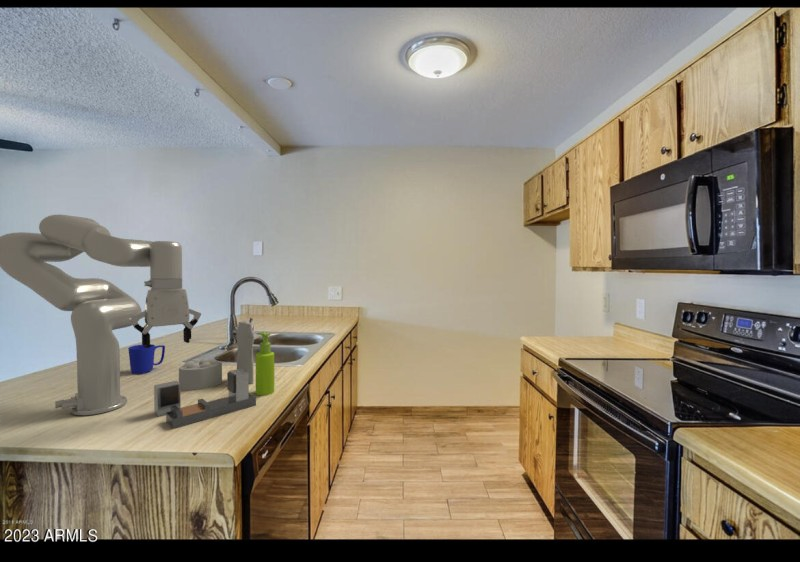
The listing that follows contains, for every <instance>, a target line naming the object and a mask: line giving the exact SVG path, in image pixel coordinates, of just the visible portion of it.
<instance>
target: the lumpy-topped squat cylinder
mask: <svg viewBox="0 0 800 562" xmlns="http://www.w3.org/2000/svg"><path fill="white" fill-rule="evenodd" d="M178 382H179V383H180V391H182V392H183V391H184V392H185V391H190V392H191V391H198V390H204V389H208V388H211V387H216V386H218V385H220V384H222V383H223V363H222V362H221V361H218V360H217V359H214V358H211V357H204V358H202V359H199V358H198V357H197V358H192V359H191V360H189V361H187V362H185V363H184V364H183V365H181V366H179V368H178Z"/></svg>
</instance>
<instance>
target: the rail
mask: <svg viewBox="0 0 800 562" xmlns="http://www.w3.org/2000/svg"><path fill="white" fill-rule="evenodd" d="M226 374H227V378H226V379H227V380H226V383H227V385H226V390H227V391H228V396H226V397H221V398H218V399H214V400H209V401H206V400H205V399H203V398H198V399H197V403H195V404H190V405H187V406H186V405H185V406H183V407H182V406H181V408H178V407H177V406H176V405H174V406H171V411H170V412H166V415H165V416H166V417H165V419H166V420H165V421H166V423H167V424H168V425H169V427H170V428H172V430H174V429H177V428H180V427H184V426H188V425H192V424H195V423H198V422H202V421H206V420H209V419H213V418H216V417H219V416H220V417H221V416H223V415H226V414H230V413H233V412H237V411H240V410H243V409H247V408H250V407H255V406H257V397H256V396H255V395H253V394H251V393H249V385H250V384H249V373H248V372H246V371H244V370H242V369H237V368H236V369H231V370H229V371H228V372H227V373H226Z"/></svg>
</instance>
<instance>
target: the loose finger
mask: <svg viewBox="0 0 800 562" xmlns="http://www.w3.org/2000/svg"><path fill="white" fill-rule="evenodd" d="M153 391H154V392H153V395H154V396H153V397H154V399H153V402H154V403H153V405H154V409H153V411H154V414H155V416H157V417H162V416H166V412H170V411H171V406H174V405H176V406H177V407H178V408H182V406H181V390H180V383H179V380H173V381H168V382H164V383H158V384H154V385H153Z"/></svg>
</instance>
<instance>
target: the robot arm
mask: <svg viewBox="0 0 800 562" xmlns="http://www.w3.org/2000/svg"><path fill="white" fill-rule="evenodd" d="M38 230H39V232H40V233H37V232H22V231H21V232H12V233H6V234H2V235H0V268H1V270H2V271H4V272H5V273H6V274H7V275H8V276H9V277H10V278H12V279H14V280H16V281H17V282H18V283H20V284H22V285H24V286H26V287H27V288H29V289H30V290H32V291H33V292H34V293H36V295H38V296H39V297H41V298H43V299H44V300H45V301H46V302H48V303H50V304H51V305H52V306H54V308H57V309H58V310H60V311H63V312H71V314H70V322H71V323H70V324H71V327H72V330H73V332H74V338H75V349H76V380H77V381H76V382H77V388H76V389H77V392H76V393H74V396H71V397H70V398H67V399H60V400H55V402H54V407H55V408H54V409H58V408H59V409H60V408H61V409H67V408H70V411H69V412H70V413H71V414H72V415H75V416H92V415H98V414H103V413H107V412H108V413H109V412H111V411H115V410H116V409H119V408H122V407H123V406H125V405H126V404H127V401H128V398H127V397H126V395H125V396H124V395H121V361H120V359H121V356H120V344H119V340H118V338H117V337H116V336H115V333H114V332H113V331H114V330H115V331H116V330H120V329H124V328H128V327H129V328H130V327H131V326H132V327H133V328H134V329H135V330H137V331H138V332H139V333H141V345H144V346H145V347H146V348H150V344H151V334H150V333H149V332H150V331H151V329H153V327H154V328H157V327H166V326H176V325H177V326H178V325H183V326H184V328H183V330H182V331H183V342H184V343H186V344H189V343H190V340H192V329H194V326H195V325H196V324H198V322H199V319H200V317H201V316H202V313H201V312H199V311H196V310H193V309H191V308H190V307H189V299H188V295H187V294H188V293H187V290H186V289H184V288H183V251H182V250H183V246H182V244H181V243H180V242H177V241H170V240H167V241H165V240H155V241H151V240H141V239H130V238H120V237H115V236H113V235H111V232H110V231H109V229H107V228H106V227H104V226H103V225H101V224H100V223H99V222H97V220H94V219H92V218H88V217H81V216H74V215H68V214H51V215H48V216H45V217H44V218H43V219H41V220H40V222H39V225H38ZM83 253H85V254H86V255H87V256H88V257H89V258H90V259H92V260H95V261H97V262H101V263H103V264H108V265H111V266H115V267H121V268H122V267H123V268H126V267H127V268H128V267H132V268H133V267H138V268H139V267H141V268H143V267H144V268H147V267H148V268H149V267H150V269H149V270H150V271H149V272H150V273H149V275H150V277H149V279H148V280H145V281H144V282H143V286H144V287H149V288H150V289H148V290H147V293H146V298H145V306H144V307H145V308H144V310H143V311H142V307H141V305H140V304H139V303H138V301H137V300H136V299H135V298H133V297H132V296H131V295H129V294H128V293H126V292H125V291H123V290H122V289H120V288H119V287H118V286H117V285H115V284H113V283H112V282H111V281H108V280H107V279H106V280H105V279H103V278H99V277H98V278H97V277H95V278H91V277H90V278H89V277H88V278H81V277H80V278H76V277H73V276H71V274H68V273H66V272H65V271H63V270H62V269H61V268H59V267H58V266H55V265H53V264H50V263H61V262H66V261H70V260H72V259H73V258H76V257H78V256H79V255H80V254H83ZM49 262H50V263H49ZM190 315H193V318H192V319H191V320H190ZM143 318H144V322H145V324H144V325H143V326H142V325H141V324H139V321H140V320H141V319H143Z"/></svg>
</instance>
